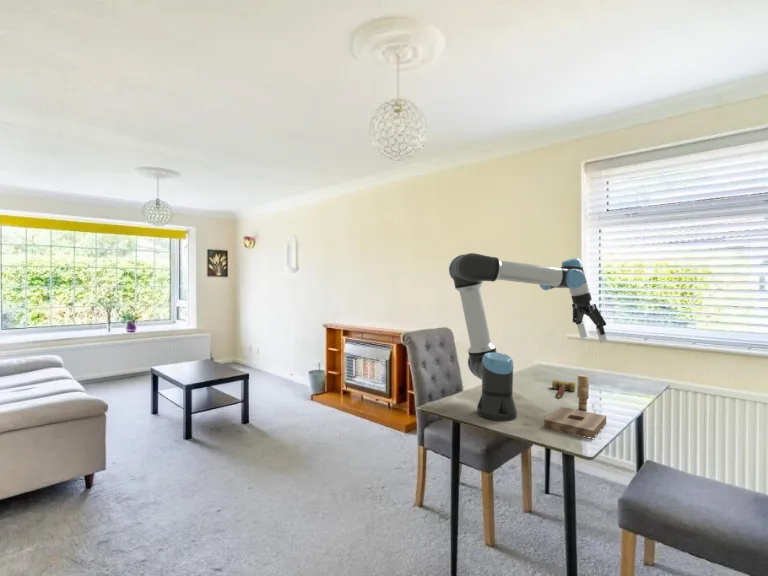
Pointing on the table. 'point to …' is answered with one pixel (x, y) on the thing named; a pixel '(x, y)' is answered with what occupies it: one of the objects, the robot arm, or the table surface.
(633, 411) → the table surface
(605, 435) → the table surface
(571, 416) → the board
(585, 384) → the peg
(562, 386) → the gavel
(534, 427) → the table surface
